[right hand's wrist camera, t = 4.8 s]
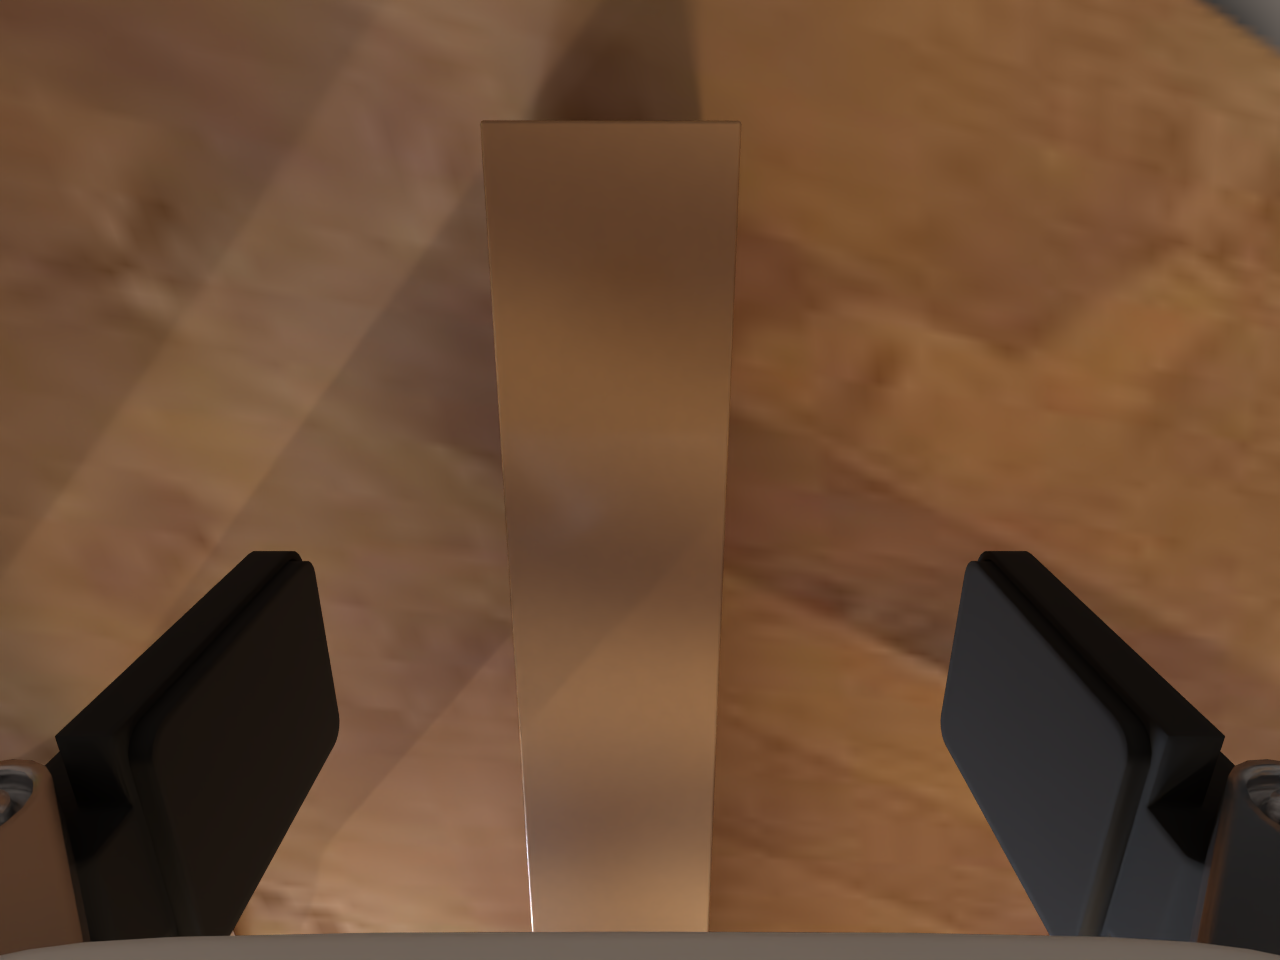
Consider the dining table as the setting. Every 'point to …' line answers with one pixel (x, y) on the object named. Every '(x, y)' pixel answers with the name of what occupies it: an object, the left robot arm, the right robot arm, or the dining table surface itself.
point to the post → (615, 500)
